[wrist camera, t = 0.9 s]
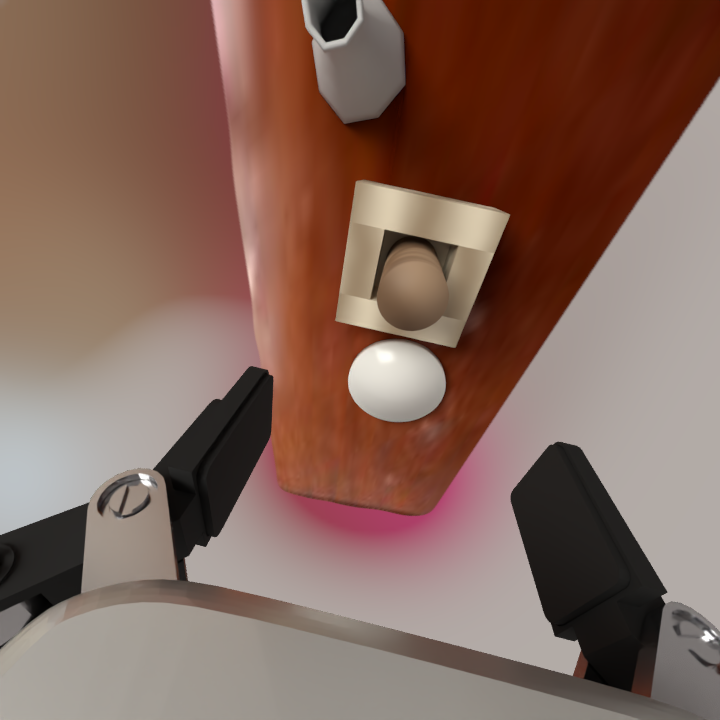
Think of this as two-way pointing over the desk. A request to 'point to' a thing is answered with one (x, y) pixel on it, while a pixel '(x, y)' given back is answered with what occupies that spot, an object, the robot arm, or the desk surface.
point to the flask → (356, 55)
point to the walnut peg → (412, 285)
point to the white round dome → (397, 380)
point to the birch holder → (422, 219)
